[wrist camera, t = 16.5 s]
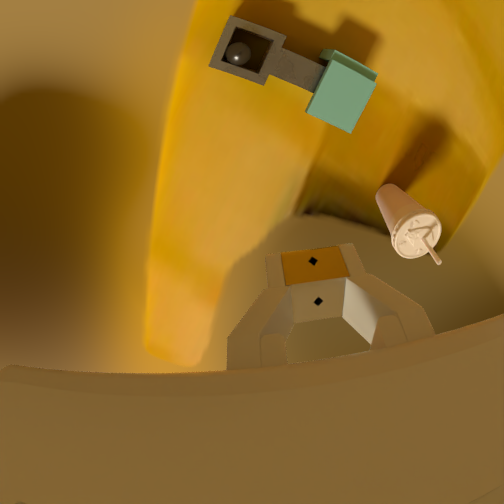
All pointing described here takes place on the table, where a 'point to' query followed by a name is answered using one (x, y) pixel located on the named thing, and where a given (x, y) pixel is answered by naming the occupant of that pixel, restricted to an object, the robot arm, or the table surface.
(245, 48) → the pintle
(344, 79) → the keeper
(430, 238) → the smoothie
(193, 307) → the table surface
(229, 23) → the link
